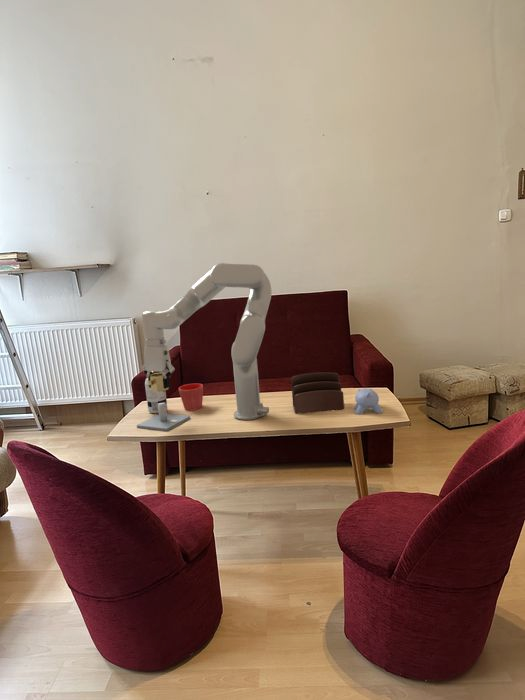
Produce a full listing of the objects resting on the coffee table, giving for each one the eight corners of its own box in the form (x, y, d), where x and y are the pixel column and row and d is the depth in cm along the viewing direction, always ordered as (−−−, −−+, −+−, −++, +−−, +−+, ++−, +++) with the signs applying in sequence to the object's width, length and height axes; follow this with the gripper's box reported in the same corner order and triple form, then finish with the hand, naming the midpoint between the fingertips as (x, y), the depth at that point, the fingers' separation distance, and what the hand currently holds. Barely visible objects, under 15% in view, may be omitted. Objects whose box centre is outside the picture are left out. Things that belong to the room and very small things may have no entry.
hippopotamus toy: (378, 403, 185) (377, 380, 183) (384, 415, 170) (384, 391, 168) (351, 404, 186) (350, 382, 184) (355, 416, 171) (354, 392, 169)
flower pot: (176, 411, 195) (173, 389, 194) (188, 403, 206) (186, 383, 204) (198, 412, 192) (195, 390, 190) (209, 404, 202) (207, 383, 200)
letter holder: (292, 406, 189) (290, 374, 187) (339, 402, 189) (338, 370, 187) (294, 414, 180) (292, 379, 177) (344, 410, 180) (342, 375, 177)
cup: (159, 386, 183) (157, 372, 182) (172, 387, 180) (170, 372, 179) (144, 392, 176) (142, 377, 174) (157, 393, 173) (155, 378, 171)
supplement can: (147, 410, 200) (143, 377, 197) (166, 407, 203) (162, 374, 200) (149, 415, 193) (145, 381, 190) (169, 412, 195) (165, 378, 193)
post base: (190, 418, 184) (188, 399, 183) (166, 431, 171) (164, 411, 170) (161, 415, 191) (159, 397, 190) (136, 427, 178) (134, 408, 177)
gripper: (178, 341, 175) (183, 386, 178) (144, 340, 182) (148, 383, 186) (166, 344, 168) (171, 391, 171) (131, 344, 176) (136, 388, 179)
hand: (159, 386), depth 178 cm, fingers closed on cup, 6 cm apart
